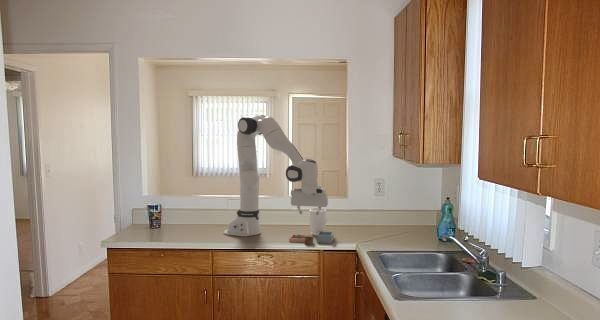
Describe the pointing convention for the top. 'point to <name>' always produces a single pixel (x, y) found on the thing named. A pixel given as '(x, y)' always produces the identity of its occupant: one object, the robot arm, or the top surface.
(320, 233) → the grey open box
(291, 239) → the dish
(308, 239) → the block
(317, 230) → the jar
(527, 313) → the top surface
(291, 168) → the robot arm
